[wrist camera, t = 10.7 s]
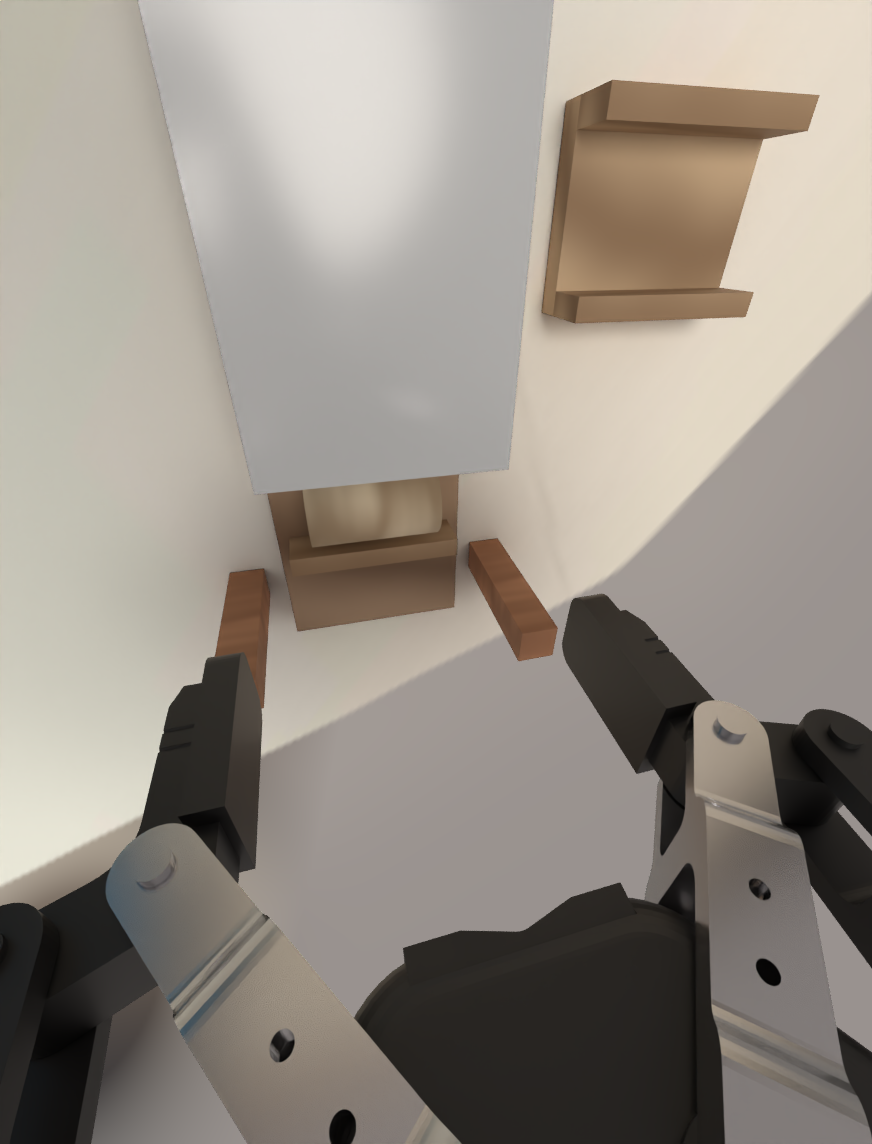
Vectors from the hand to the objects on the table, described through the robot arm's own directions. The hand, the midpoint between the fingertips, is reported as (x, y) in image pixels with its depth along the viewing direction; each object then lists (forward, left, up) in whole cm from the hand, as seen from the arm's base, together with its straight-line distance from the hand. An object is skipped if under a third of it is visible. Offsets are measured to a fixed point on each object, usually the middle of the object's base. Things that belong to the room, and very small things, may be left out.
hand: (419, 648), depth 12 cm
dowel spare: (0, 0, -10) cm, 10 cm away
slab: (-9, 0, -7) cm, 11 cm away
